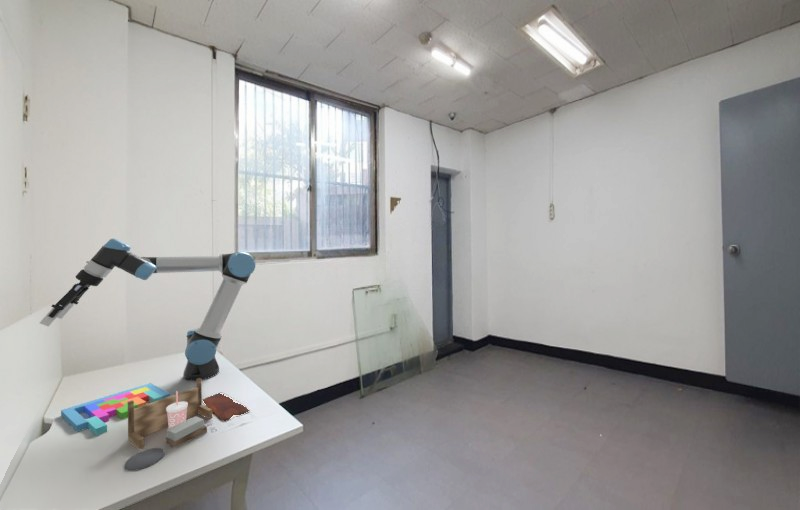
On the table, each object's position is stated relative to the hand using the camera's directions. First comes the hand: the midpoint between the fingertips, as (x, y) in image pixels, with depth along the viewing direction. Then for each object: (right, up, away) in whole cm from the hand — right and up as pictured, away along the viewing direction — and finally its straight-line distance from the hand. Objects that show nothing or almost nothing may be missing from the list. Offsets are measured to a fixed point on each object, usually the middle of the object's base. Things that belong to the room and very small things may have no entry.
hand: (50, 320), depth 119 cm
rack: (+54, -36, -10) cm, 65 cm away
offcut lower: (+62, -36, -15) cm, 73 cm away
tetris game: (+24, -36, +3) cm, 44 cm away
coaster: (+57, -36, -26) cm, 72 cm away
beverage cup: (+56, -36, -12) cm, 68 cm away
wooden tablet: (+62, -36, +7) cm, 72 cm away
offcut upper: (+62, -34, -15) cm, 72 cm away
